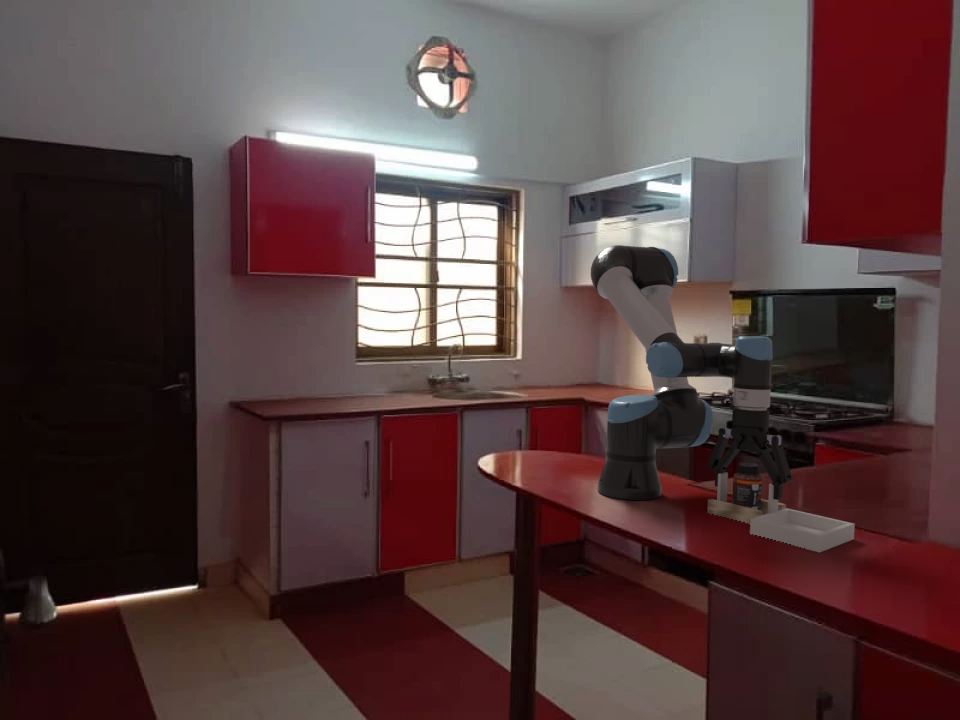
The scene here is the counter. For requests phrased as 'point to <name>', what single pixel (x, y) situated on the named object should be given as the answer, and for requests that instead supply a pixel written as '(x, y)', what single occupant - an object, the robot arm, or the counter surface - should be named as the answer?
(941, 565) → the counter surface
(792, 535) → the tray
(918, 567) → the counter surface
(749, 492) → the supplement bottle
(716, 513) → the cradle
